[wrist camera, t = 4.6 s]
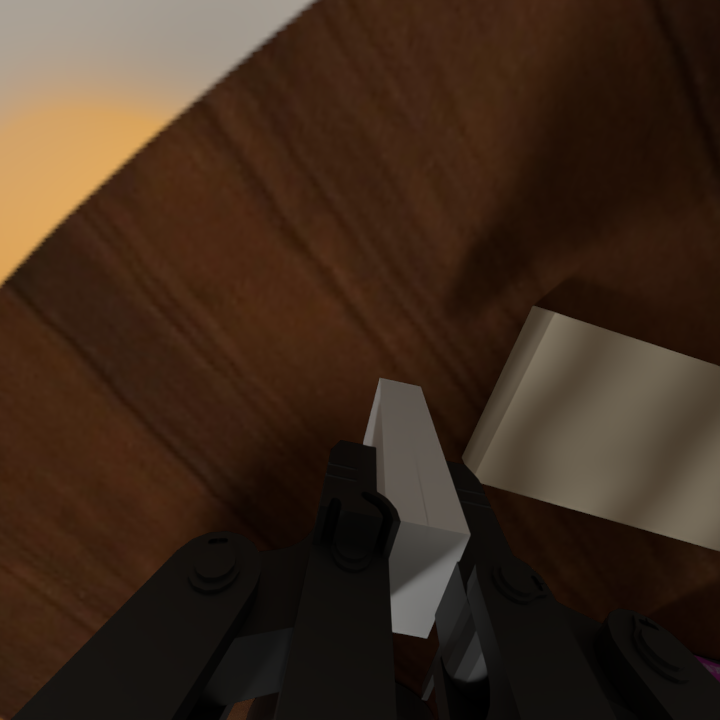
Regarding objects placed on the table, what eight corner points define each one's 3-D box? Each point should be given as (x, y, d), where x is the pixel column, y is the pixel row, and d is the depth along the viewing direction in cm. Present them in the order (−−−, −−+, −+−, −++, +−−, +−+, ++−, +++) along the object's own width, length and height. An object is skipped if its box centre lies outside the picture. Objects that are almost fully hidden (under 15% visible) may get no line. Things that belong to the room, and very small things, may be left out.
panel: (459, 452, 19) (472, 480, 17) (528, 303, 17) (555, 312, 14) (704, 523, 21) (748, 559, 18) (806, 394, 18) (873, 416, 15)
